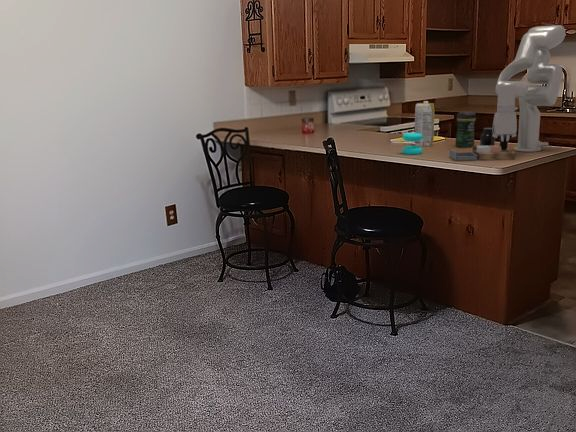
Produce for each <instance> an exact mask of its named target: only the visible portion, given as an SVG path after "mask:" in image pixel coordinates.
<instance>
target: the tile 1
mask: <svg viewBox="0 0 576 432" xmlns="http://www.w3.org/2000/svg"><path fill="white" fill-rule="evenodd" d="M476 146H477V149H476V151H477V152H479V153H489V152H490V147H489V146H480V145H476Z"/></svg>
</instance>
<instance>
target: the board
mask: <svg viewBox="0 0 576 432" xmlns="http://www.w3.org/2000/svg"><path fill="white" fill-rule="evenodd" d="M498 145H499V146H500V144H498ZM477 146H478V145H474V146H472V151H471V152H472V153H474V154H476V155H477V161H502V160H503V161H505V160H506V159H511V160H515V159H516V152H515V151H511V150H509V149H508V147H507V148H506V150H501V152H489V153H479V152H477V151H476V149H477ZM489 146H491V145H489Z"/></svg>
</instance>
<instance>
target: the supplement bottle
mask: <svg viewBox="0 0 576 432" xmlns="http://www.w3.org/2000/svg"><path fill="white" fill-rule="evenodd" d="M492 135H493V133H492V127H484V128H483V129H482V134H480V138H479V141H480V143H479V146H489V145H496V144H495V143H496V142H495V141H496V138H495V137H492Z"/></svg>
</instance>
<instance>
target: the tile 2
mask: <svg viewBox="0 0 576 432" xmlns="http://www.w3.org/2000/svg"><path fill="white" fill-rule="evenodd" d="M499 145H500V144H497V145H496V144H495V145H491V146H489V147H490V152H501V146H499Z"/></svg>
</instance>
